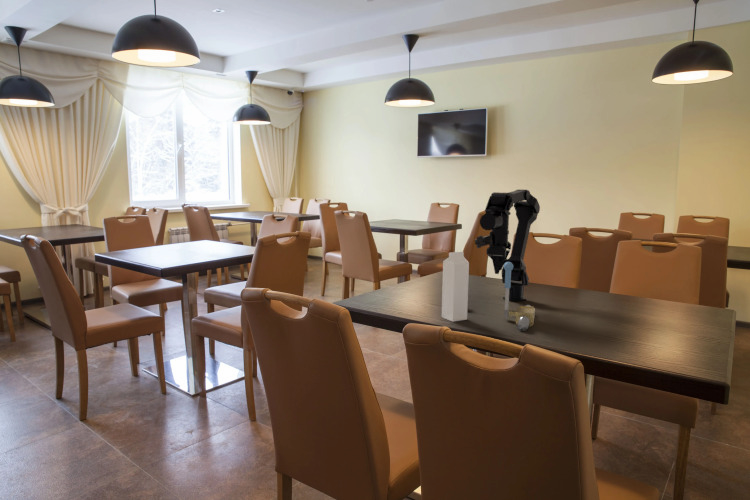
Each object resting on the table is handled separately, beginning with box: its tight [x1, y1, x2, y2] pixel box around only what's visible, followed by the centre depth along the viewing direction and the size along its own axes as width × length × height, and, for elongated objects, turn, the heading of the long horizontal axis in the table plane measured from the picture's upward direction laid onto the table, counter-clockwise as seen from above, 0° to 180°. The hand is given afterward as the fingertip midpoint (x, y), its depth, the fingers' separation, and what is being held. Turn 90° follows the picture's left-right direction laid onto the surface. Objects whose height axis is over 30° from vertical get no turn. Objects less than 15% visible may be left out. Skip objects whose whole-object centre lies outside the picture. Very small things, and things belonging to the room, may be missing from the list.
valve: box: [508, 304, 536, 332], centre depth 160 cm, size 22×8×4 cm, turn 159°
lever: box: [503, 262, 513, 318], centre depth 161 cm, size 3×3×18 cm
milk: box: [441, 251, 470, 322], centre depth 162 cm, size 6×6×22 cm
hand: (498, 271), depth 178 cm, fingers open, 8 cm apart
